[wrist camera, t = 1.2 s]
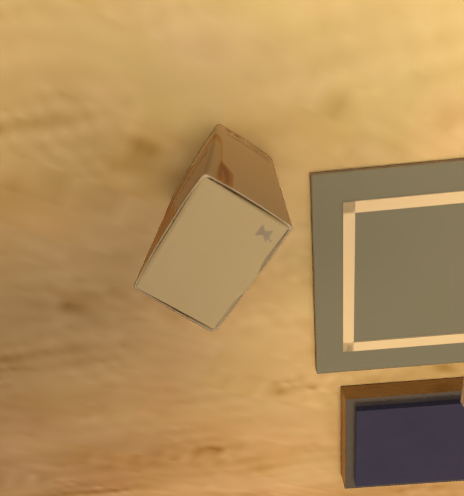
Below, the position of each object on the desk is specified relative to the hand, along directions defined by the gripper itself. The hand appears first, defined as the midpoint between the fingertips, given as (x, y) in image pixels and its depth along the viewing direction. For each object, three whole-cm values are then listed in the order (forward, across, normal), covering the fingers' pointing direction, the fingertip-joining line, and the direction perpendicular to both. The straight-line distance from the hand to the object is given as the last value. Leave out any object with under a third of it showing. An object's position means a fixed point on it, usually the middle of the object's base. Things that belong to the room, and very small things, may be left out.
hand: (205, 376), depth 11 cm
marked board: (+20, +14, -8) cm, 25 cm away
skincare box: (+20, 0, 0) cm, 20 cm away
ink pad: (+20, +14, -23) cm, 33 cm away
